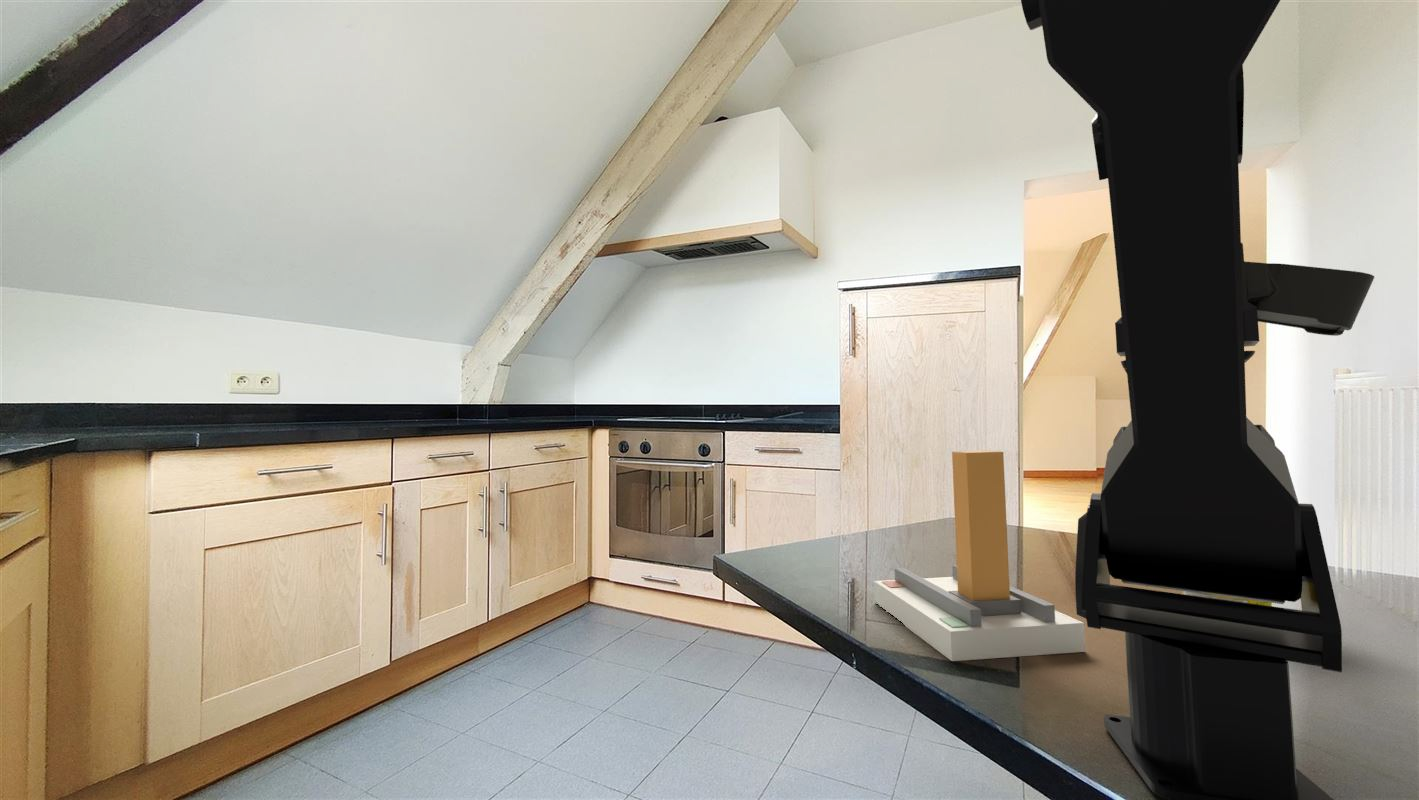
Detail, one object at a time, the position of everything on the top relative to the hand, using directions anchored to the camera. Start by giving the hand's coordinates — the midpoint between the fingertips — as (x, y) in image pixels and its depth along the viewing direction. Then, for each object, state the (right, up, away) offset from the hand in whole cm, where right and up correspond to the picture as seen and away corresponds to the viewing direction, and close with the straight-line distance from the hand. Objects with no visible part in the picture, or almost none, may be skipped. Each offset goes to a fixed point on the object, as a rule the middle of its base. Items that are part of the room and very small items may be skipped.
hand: (1190, 467), depth 38 cm
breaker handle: (-12, -11, +5) cm, 17 cm away
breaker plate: (-12, -14, +7) cm, 20 cm away
